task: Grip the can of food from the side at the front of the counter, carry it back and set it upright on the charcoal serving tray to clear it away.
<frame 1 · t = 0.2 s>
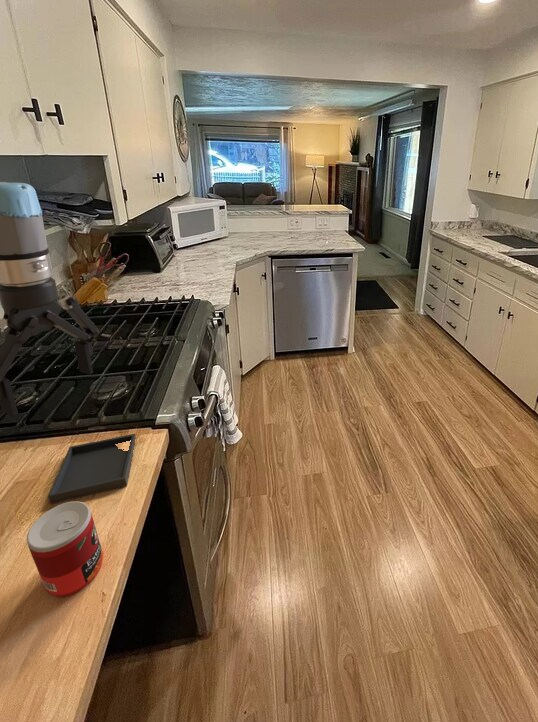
hand: (52, 390, 65), 23 cm above the countertop, tool pointing down, fingers open, 13 cm apart
tray: (97, 469, 76), on the countertop
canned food: (76, 572, 58), on the countertop
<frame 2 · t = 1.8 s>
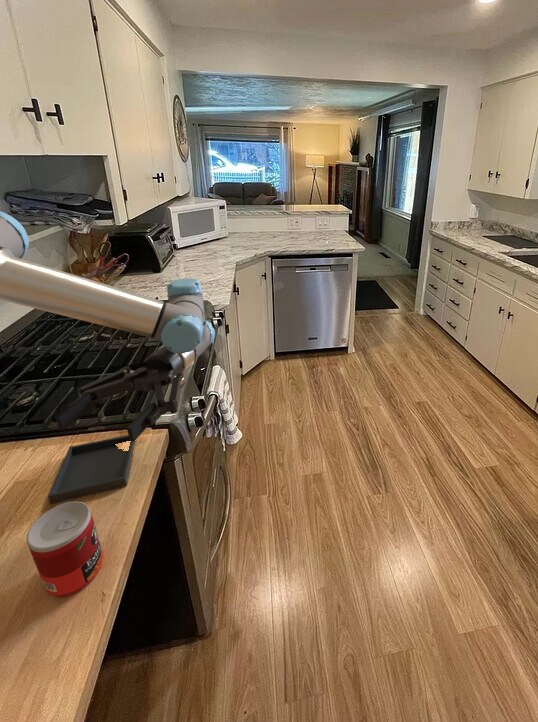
hand: (93, 429, 59), 20 cm above the countertop, tool horizontal, fingers open, 13 cm apart
nothing on the countertop moved.
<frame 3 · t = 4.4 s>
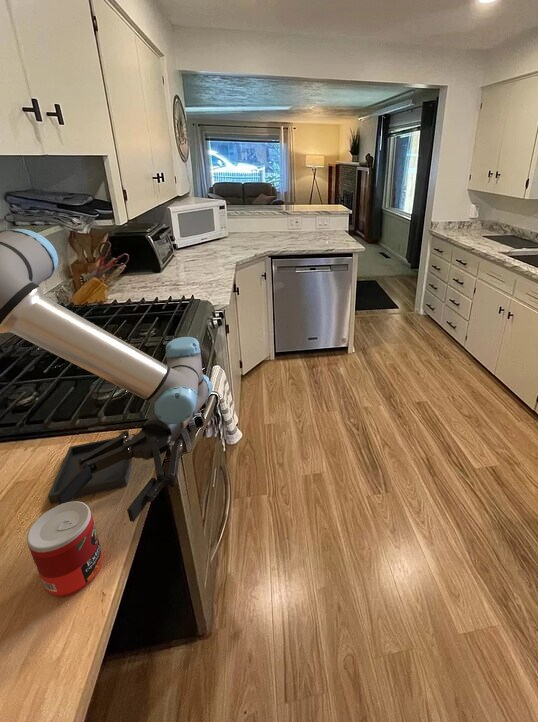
hand: (94, 509, 60), 7 cm above the countertop, tool horizontal, fingers open, 13 cm apart
nothing on the countertop moved.
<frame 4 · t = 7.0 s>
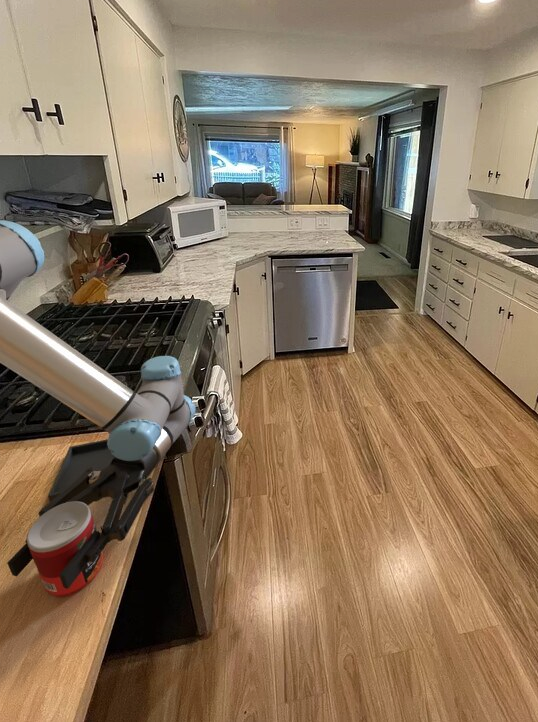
hand: (37, 575, 51), 7 cm above the countertop, tool horizontal, fingers closed on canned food, 8 cm apart
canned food: (76, 572, 58), on the countertop, touching gripper
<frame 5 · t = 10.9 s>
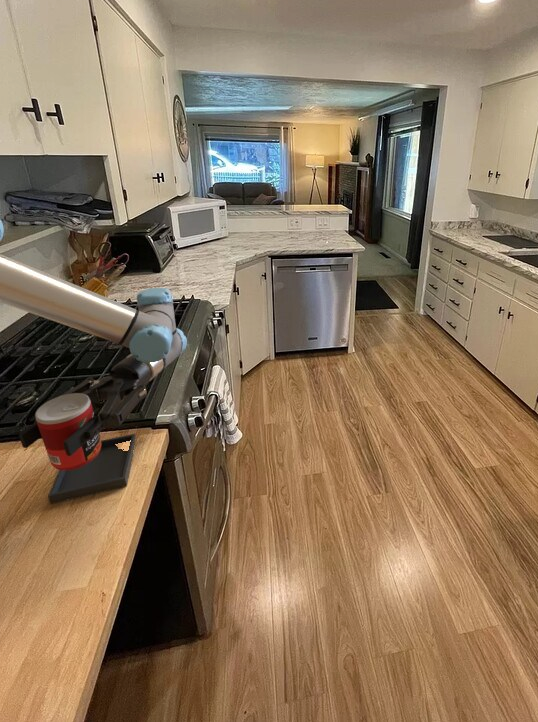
hand: (44, 445, 59), 18 cm above the countertop, tool horizontal, fingers closed on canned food, 8 cm apart
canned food: (77, 456, 66), point 11 cm above the countertop, touching gripper
when the fingers open (7 cm above the countertop, at t = 15.2 s): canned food stays where it is, resting on tray.
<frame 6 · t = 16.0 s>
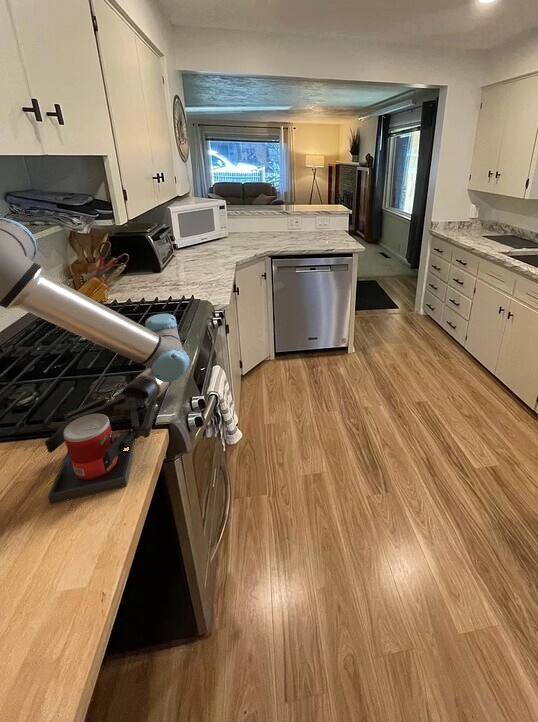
hand: (77, 452, 71), 8 cm above the countertop, tool horizontal, fingers open, 13 cm apart
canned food: (97, 467, 76), resting on tray
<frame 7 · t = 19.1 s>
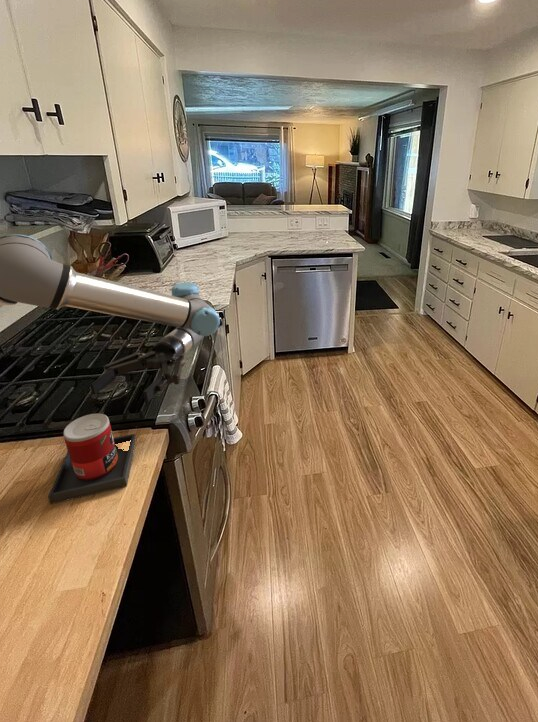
hand: (118, 393, 81), 13 cm above the countertop, tool horizontal, fingers open, 13 cm apart
nothing on the countertop moved.
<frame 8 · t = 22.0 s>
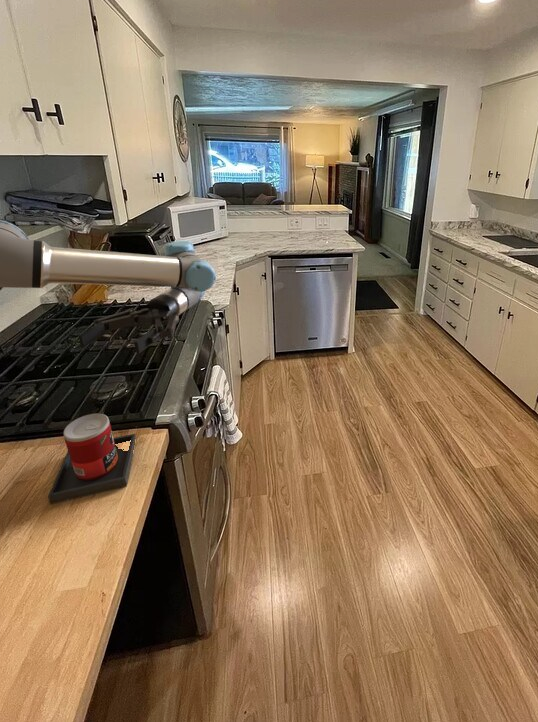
hand: (108, 344, 77), 25 cm above the countertop, tool horizontal, fingers open, 13 cm apart
nothing on the countertop moved.
at the end: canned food inside the target area in the tray (0.0 cm from its centre), point 0.4 cm above the tray's base; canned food tilted 0°; the gripper is holding nothing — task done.
